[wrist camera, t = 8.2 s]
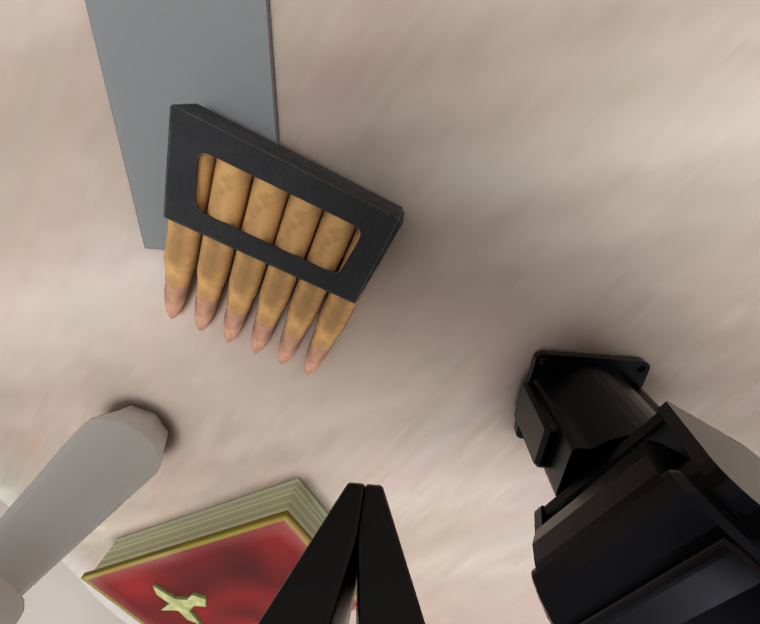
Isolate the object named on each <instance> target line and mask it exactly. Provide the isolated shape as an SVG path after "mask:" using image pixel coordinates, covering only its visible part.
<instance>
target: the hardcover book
mask: <svg viewBox="0 0 760 624" xmlns="http://www.w3.org/2000/svg"><path fill="white" fill-rule="evenodd" d="M327 515H328V513H327V511H326V510H325V509H324V508H323V507H322V505H321V504H320V503H319V502H318V501H317V499H316V498H315V497H314V496H313V494H312V493H311V492H310V491H309V490H308V488H307V487H306V486H305V485H304V484H303V482H302V481H301V480H300V479H299V478H296V479H293V480H290V481H288V482H285V483H282V484H279V485H276V486H273V487H270V488H267V489H264V490H261V491H258V492H255V493H252V494H249V495H246V496H243V497H240V498H237V499H234V500H231V501H228V502H225V503H222V504H219V505H216V506H213V507H210V508H207V509H204V510H201V511H198V512H195V513H192V514H189V515H186V516H183V517H180V518H177V519H174V520H171V521H169V522H166V523H163V524H160V525H157V526H154V527H151V528H148V529H145V530H142V531H139V532H136V533H133V534H130V535H127V536H124V537H121V538H118V540H117V541H116V542H115V544H114V545H113V546H112V548H111V549H110V550H109V552H108V553H107V554H106V556H105V557H104V558H103V560H102V561H101V562H100V564H99V565H98V566H97V568H96V569H95V570H93V571H89V572H86V573H84V574H83V576H82V577H81V579H83V580H84V581H85V582H87V583H88V584H89V585H91V586H92V587H93V588H95V589H96V590H97V591H99V592H100V593H101V594H103V595H104V596H105V597H107V598H108V599H109V600H111V601H112V602H113V603H115V604H116V605H117V606H119V607H120V608H121V609H123V610H124V611H125V612H127V613H128V614H129V615H131V616H132V617H133V618H135V619H136V620H137V621H139V622H140V623H141V624H258V622H259V621H260V619H261V618H262V616H263V615H264V613H265V612H266V610H267V608H268V607H269V605H270V604H271V602H272V601H273V599H274V598H275V596H276V594H277V593H278V591H279V590H280V588H281V587H282V585H283V584H284V582H285V580H286V579H287V577H288V576H289V574H290V573H291V571H292V570H293V568H294V566H295V565H296V563H297V562H298V560H299V559H300V557H301V556H302V554H303V552H304V551H305V549H306V548H307V546H308V545H309V543H310V541H311V540H312V538H313V537H314V535H315V534H316V532H317V531H318V529H319V527H320V526H321V524H322V523H323V521H324V520H325V518H326V517H327ZM356 599H357V584H356V590H355V596H354V601H353V606H352V610H354V609H356Z"/></svg>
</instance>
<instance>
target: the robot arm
mask: <svg viewBox="0 0 760 624" xmlns="http://www.w3.org/2000/svg"><path fill="white" fill-rule="evenodd" d="M542 358H546V359H545V360H544V361H541V362H540V360H541V359H542ZM640 365H641V366H640ZM638 366H640V367H639V368H637V367H638ZM636 368H637V369H636ZM649 369H650V366H649V364H648V363H647V362H646V361H645V360H643V359H642V358H633V357H620V356H607V355H594V354H580V353H567V352H554V351H539V352H537V353H536V354H535V355H534V357H533V360H532V364H531V367H530V371H529V375H528V379H527V381H526V382H525V383H524V384H523V385H522V388H521V392H520V396H519V399H518V403H517V407H516V411H515V418H516V424H515V427H514V430H515V433H516V435H517V437H519V438H522V439H524V440H525V443H526V445H527V448H528V450H529V453H530V455H531V458H532V460H533V463H534V464H535V465H536V466H537V467H542V468H544V470H545V472H546V474H547V477H548V479H549V481H550V484H551V486H552V488H553V491H554V493H555V495H556V497H555V498H554V499H553V500H551V501H550V502H549V503H548V504H547V505H545V506H541V507H539V508H538V509H537V510H536V511H535V512H534V516H535V536H534V540H533V552H534V561H535V567H536V568H535V569H533V570H532V572H531V574H532V580H533V583H534V586H535V589H536V592H537V594H538V597H539V600H540V602H541V604H542V606H543V608H544V611H545V613H546V615H547V618H548V619H549V621H550V623H551V624H760V458H759V457H758V456H757V455H755V454H754V453H753V452H752V451H750V450H749V449H748V448H747V447H745V446H744V445H742V444H741V443H739V442H737V441H736V440H734V439H732V438H730V437H729V436H727V435H725V434H724V433H722V432H720V431H718V430H717V429H715V428H713V427H711V426H710V425H708V424H706V423H704V422H703V421H701V420H699V419H697V418H696V417H694V416H692V415H690V414H689V413H687V412H685V411H684V410H682V409H680V408H678V407H677V406H675V405H673V404H671V403H670V402H668V401H666V402H665V403H664V404H663V405H661V406H660V407H659V406H658V405H657V404H656V403H655V402H654V401H653V400H652V399H651V398H650V397H649V396H648V395H647V394H646V393H645V391H644V390H643V389H642V385H643V383H644V381H645V379H646V376H647V374H648V372H649ZM356 584H357V599H356V624H425V622H424V618H423V615H422V612H421V609H420V605H419V602H418V599H417V596H416V592H415V589H414V586H413V583H412V579H411V576H410V573H409V570H408V567H407V563H406V560H405V557H404V554H403V550H402V547H401V544H400V541H399V537H398V534H397V531H396V528H395V524H394V521H393V518H392V515H391V512H390V508H389V505H388V502H387V499H386V495H385V492H384V489H383V487H382V486H381V485H372V484H368V485H366V486H365V485H364V484H362V483H348V484H347V486H346V487H345V489H344V490H343V492H342V493H341V495H340V496H339V498H338V499H337V501H336V503H335V504H334V506H333V507H332V509H331V510H330V512H329V513H328V515H327V517H326V518H325V520H324V521H323V523H322V524H321V526H320V527H319V529H318V531H317V532H316V534H315V535H314V537H313V538H312V540H311V541H310V543H309V545H308V546H307V548H306V549H305V551H304V552H303V554H302V556H301V557H300V559H299V560H298V562H297V563H296V565H295V566H294V568H293V570H292V571H291V573H290V574H289V576H288V577H287V579H286V580H285V582H284V584H283V585H282V587H281V588H280V590H279V591H278V593H277V594H276V596H275V598H274V599H273V601H272V602H271V604H270V605H269V607H268V608H267V610H266V612H265V613H264V615H263V616H262V618H261V619H260V621H259V622H258V624H349V620H350V615H351V611H352V606H353V601H354V596H355V590H356Z"/></svg>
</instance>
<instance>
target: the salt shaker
mask: <svg viewBox="0 0 760 624" xmlns="http://www.w3.org/2000/svg"><path fill="white" fill-rule="evenodd" d="M167 437H168V431H167V430H166V428H165V427H164V425H163V424H162V422H161V421H160V419H159V418H158V416H157V415H156V414H155V413H152V412H149V411H146V410H144V409H141V408H138V407H135V406H132V405H130V406H128V407H126V408H123V409H121V410H118V411H115V412H112V413H108V414H105V415H101V416H98V417H94V418H91V419H90V420H88V421H87V422H85V423H84V424H83V425H82V426H81V427H80V428H79V429H78V430H77V431H76V432H75V433H74V434H73V435H72V436H71V437H70V439H69V440H68V441H67V442H66V443H65V444H64V445H63V447H62V448H61V449H60V450H59V451H58V452H57V454H56V455H55V456H54V457H53V458H52V459H51V460H50V462H49V463H48V464H47V465H46V466H45V467H44V469H43V470H42V471H41V472H40V473H39V474H38V475H37V477H36V478H35V479H34V480H33V481H32V482H31V483H30V485H29V486H28V487H27V488H26V489H25V490H24V492H23V493H22V494H21V495H20V496H19V497H18V498H17V500H16V501H15V502H14V503H13V504H12V505H11V507H10V508H9V509H8V510H7V511H6V512H5V513H4V515H3V516H2V517H1V518H0V624H16V623H17V621H18V620H19V619H20V617H21V615H22V613H23V611H24V599H23V597H22V595H23V594H24V593H25V592H27V591H28V590H29V589H30V588H31V587H32V586H33V585H34V584H35V583H36V582H37V581H39V580H40V579H41V578H42V577H43V576H44V575H45V574H46V573H47V572H48V571H49V570H51V569H52V568H53V567H54V566H55V565H56V564H57V563H58V562H59V561H60V560H62V559H63V558H64V557H65V556H66V555H67V554H68V553H69V552H70V551H71V550H73V549H74V548H75V547H76V546H77V545H78V544H79V543H80V542H81V541H82V540H83V539H85V538H86V537H87V536H88V535H89V534H90V533H91V532H92V531H93V530H94V529H95V528H97V527H98V526H99V525H100V524H101V523H102V522H103V521H104V520H105V519H106V518H107V517H109V516H110V515H111V514H112V513H113V512H114V511H115V510H116V509H117V508H118V507H119V506H121V505H122V504H123V503H124V502H125V501H126V500H127V499H128V498H129V497H130V496H132V495H133V494H134V493H135V492H136V491H137V490H138V489H139V488H140V487H142V486H143V485H144V484H145V483H146V482H147V481H148V480H149V479H151V478H152V477H153V476H154V475H155V474H156V473H157V471H158V469H159V467H160V465H161V460H162V456H163V452H164V448H165V444H166V441H167Z"/></svg>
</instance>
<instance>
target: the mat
mask: <svg viewBox="0 0 760 624" xmlns="http://www.w3.org/2000/svg"><path fill="white" fill-rule="evenodd" d="M85 3H86V7H87V11H88V15H89V19H90V23H91V28H92V32H93V36H94V40H95V44H96V48H97V52H98V57H99V61H100V65H101V69H102V73H103V77H104V81H105V86H106V90H107V94H108V98H109V102H110V106H111V110H112V115H113V119H114V123H115V127H116V131H117V135H118V140H119V144H120V148H121V152H122V156H123V160H124V164H125V169H126V173H127V177H128V181H129V185H130V189H131V193H132V198H133V202H134V206H135V210H136V214H137V218H138V222H139V227H140V231H141V235H142V239H143V243H144V247H145V248H147V249H162V250H165V244H166V236H167V227H168V219H167V218H165V217H164V216H163V214H164V198H165V182H166V165H167V149H168V133H169V117H170V106H171V105H173V104H195V103H197V104H199V105H201V106H203V107H205V108H207V109H209V110H211V111H212V112H214V113H216V114H218V115H220V116H222V117H224V118H226V119H228V120H230V121H232V122H234V123H236V124H238V125H240V126H242V127H244V128H246V129H248V130H250V131H252V132H254V133H256V134H258V135H260V136H262V137H264V138H266V139H268V140H270V141H272V142H274V143H276V144H278V145H279V139H278V125H277V110H276V96H275V82H274V67H273V53H272V38H271V24H270V9H269V0H85ZM250 192H251V191H250ZM249 196H250V195H249ZM248 201H249V199H248ZM247 205H248V203H247ZM246 209H247V207H246ZM245 213H246V211H245ZM283 215H284V213H283ZM282 218H283V216H282ZM281 222H282V219H281ZM281 222H280V225H281ZM280 225H279V228H280ZM278 230H279V229H278ZM235 254H236V250H235Z"/></svg>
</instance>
